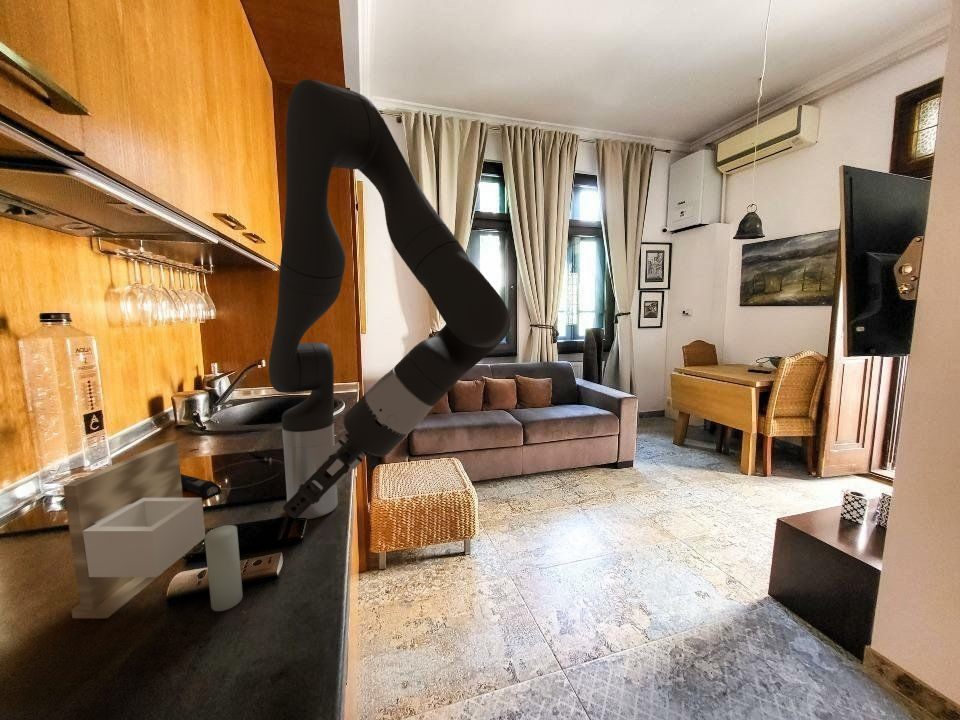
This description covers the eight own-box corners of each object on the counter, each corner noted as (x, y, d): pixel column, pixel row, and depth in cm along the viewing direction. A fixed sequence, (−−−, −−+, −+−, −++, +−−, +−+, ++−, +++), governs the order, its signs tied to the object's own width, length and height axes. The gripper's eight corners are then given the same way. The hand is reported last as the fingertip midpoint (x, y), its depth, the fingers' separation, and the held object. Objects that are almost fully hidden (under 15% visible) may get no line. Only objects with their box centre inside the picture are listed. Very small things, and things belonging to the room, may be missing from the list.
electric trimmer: (182, 481, 91) (181, 468, 90) (223, 493, 84) (221, 479, 83) (164, 487, 87) (162, 474, 87) (204, 501, 80) (203, 487, 80)
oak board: (171, 543, 65) (160, 441, 63) (198, 543, 65) (187, 441, 63) (72, 618, 50) (53, 485, 47) (107, 618, 50) (89, 485, 47)
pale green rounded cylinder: (222, 591, 54) (216, 525, 53) (248, 591, 54) (242, 525, 53) (204, 611, 51) (197, 540, 49) (232, 611, 51) (225, 540, 49)
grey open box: (142, 537, 57) (138, 497, 56) (205, 537, 57) (201, 497, 56) (83, 577, 48) (77, 531, 48) (157, 577, 48) (151, 531, 48)
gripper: (382, 380, 56) (308, 456, 57) (349, 403, 42) (252, 503, 43) (419, 415, 56) (345, 490, 58) (399, 450, 42) (302, 547, 44)
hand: (305, 495), depth 51 cm, fingers open, 8 cm apart
